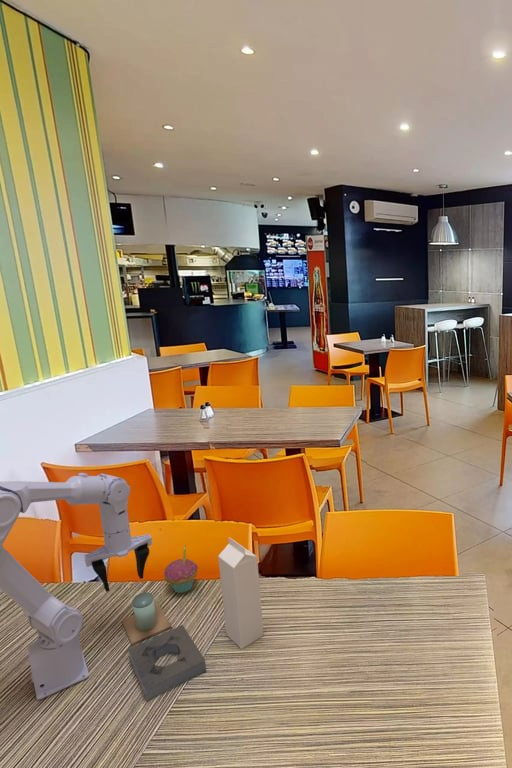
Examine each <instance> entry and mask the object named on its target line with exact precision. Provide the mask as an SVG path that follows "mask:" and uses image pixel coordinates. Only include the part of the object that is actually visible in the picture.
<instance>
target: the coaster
mask: <svg viewBox="0 0 512 768" xmlns="http://www.w3.org/2000/svg"><path fill="white" fill-rule="evenodd" d="M154 606H155V612H156V619H157V624H156V626H155V627H154V628H153V629H151V630H149V631H146V632H141V631H138V630H137V628H136V622H135V616H134V614H132V615H128V616H127V617H125V618H122V619H121V620H120V621H121V623H122V625H123V628H124V630H125V633H126V635H127V637H128V639H129V641H130V644H131V647H134V646H136V645H138V644H141V643H143V642H145V641H147V640H149V639H152V638H154V637H156V636H158V635H161V634H163V633H165V632H167V631H169V630H172V629H173V627H172V624H171V623H170V621H169V619H168V618H167V615H166V614H165V613H164V611H163V609H162V607H161V606H160V604H156V605H154Z"/></svg>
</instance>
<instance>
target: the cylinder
mask: <svg viewBox="0 0 512 768" xmlns="http://www.w3.org/2000/svg"><path fill="white" fill-rule="evenodd" d="M131 602H132V610H133V615H134V616H135V622H136V628H137V630H138V631H141V632H146V631H149V630H151V629H153V628H154V627H155V626H156V624H157V619H156V612H155V606H156V605H155V600H154V595H153V594H152V593H150V592H141V593H139V594H136V596H134V597H133V599H132V600H131Z"/></svg>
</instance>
